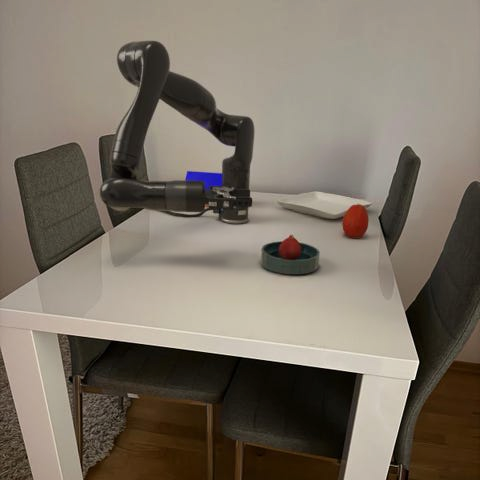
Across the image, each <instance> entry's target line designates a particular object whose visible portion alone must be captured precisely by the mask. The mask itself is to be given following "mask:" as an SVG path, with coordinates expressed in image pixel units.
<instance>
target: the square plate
mask: <svg viewBox="0 0 480 480" xmlns="http://www.w3.org/2000/svg"><path fill="white" fill-rule="evenodd" d="M275 203H277V204H278V205H279V206H281V207H283V208H285V209H289V210H291V211H292V212H296V213H301V214H304V215H310V216H312V217H317V218H322V219H328V220H337V219H340V218H343V217H344V215H345V213H346V212H347V210H348V209H349V208H350V207H351V206H352V205H358V204H361V205H363V206H364V207H365V209H366V210H367V209H368V208H369V207H371V206H372V205H373V204H374V202H372V201H367V200H362V199H358V198H354V197H349V196H345V195H340V194H336V193H335V194H334V193H328V192H323V191H318V190H317V191H315V190H314V191H310V192H303V193H298V194H293V195H290V196H286V197H283V198H279V199H275Z"/></svg>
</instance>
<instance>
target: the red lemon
mask: <svg viewBox="0 0 480 480" xmlns="http://www.w3.org/2000/svg"><path fill="white" fill-rule="evenodd" d="M282 241H283V242H282V243H281V245H280V247H279V254H280V256H281V258H282V259H287V260H296V259H298V257H299V256H300V254H301V246H300V243H301V242H300V243H299V240H298V239H296V238H295V236H294V235H293V234H289V236H288V237H286V238H285V239H283V240H282Z"/></svg>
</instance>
